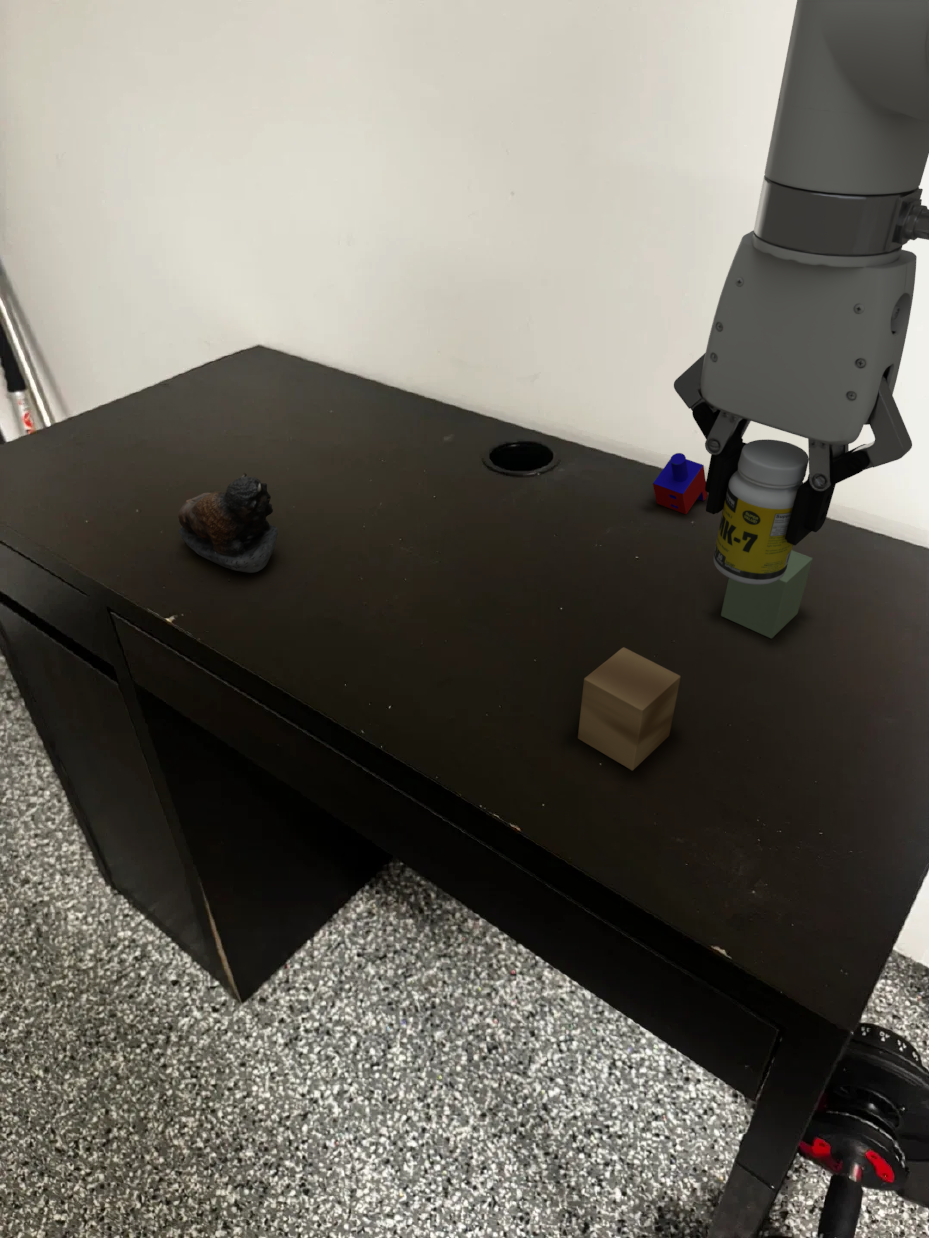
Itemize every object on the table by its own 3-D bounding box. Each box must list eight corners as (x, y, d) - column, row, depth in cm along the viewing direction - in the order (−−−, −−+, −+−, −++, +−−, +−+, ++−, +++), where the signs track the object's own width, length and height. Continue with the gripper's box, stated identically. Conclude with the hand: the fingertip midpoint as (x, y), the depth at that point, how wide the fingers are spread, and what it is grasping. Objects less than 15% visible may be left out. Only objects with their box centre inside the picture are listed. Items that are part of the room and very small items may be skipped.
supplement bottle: (697, 557, 61) (719, 444, 55) (752, 541, 62) (778, 430, 57) (744, 594, 57) (771, 477, 52) (801, 576, 59) (832, 461, 54)
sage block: (747, 592, 83) (760, 537, 79) (797, 614, 80) (813, 558, 77) (720, 615, 80) (732, 559, 77) (771, 639, 77) (786, 582, 74)
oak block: (615, 705, 71) (623, 646, 67) (669, 735, 68) (681, 675, 64) (577, 738, 68) (583, 678, 64) (632, 771, 65) (642, 710, 61)
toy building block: (658, 513, 98) (649, 466, 91) (678, 485, 99) (670, 437, 92) (687, 524, 96) (679, 477, 89) (707, 495, 97) (701, 447, 91)
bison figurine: (167, 550, 89) (145, 458, 83) (224, 522, 93) (208, 433, 87) (244, 595, 83) (227, 499, 77) (301, 563, 87) (289, 470, 81)
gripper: (1027, 234, 44) (914, 544, 55) (720, 184, 53) (675, 459, 64) (978, 265, 40) (865, 597, 51) (652, 205, 49) (616, 497, 60)
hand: (760, 517), depth 57 cm, fingers closed on supplement bottle, 4 cm apart
